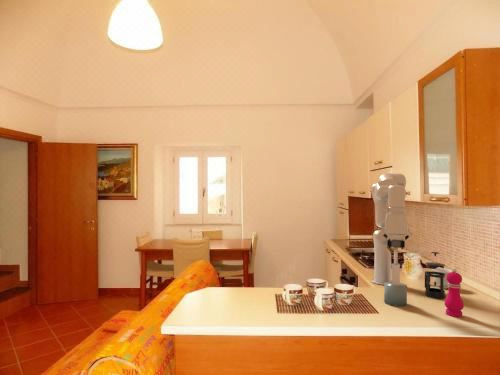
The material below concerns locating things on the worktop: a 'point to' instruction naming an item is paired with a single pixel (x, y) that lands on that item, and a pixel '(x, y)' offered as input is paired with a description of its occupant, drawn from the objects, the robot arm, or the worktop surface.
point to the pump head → (396, 248)
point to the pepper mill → (454, 295)
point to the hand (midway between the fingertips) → (395, 248)
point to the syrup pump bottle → (395, 289)
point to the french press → (435, 292)
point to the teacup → (443, 278)
